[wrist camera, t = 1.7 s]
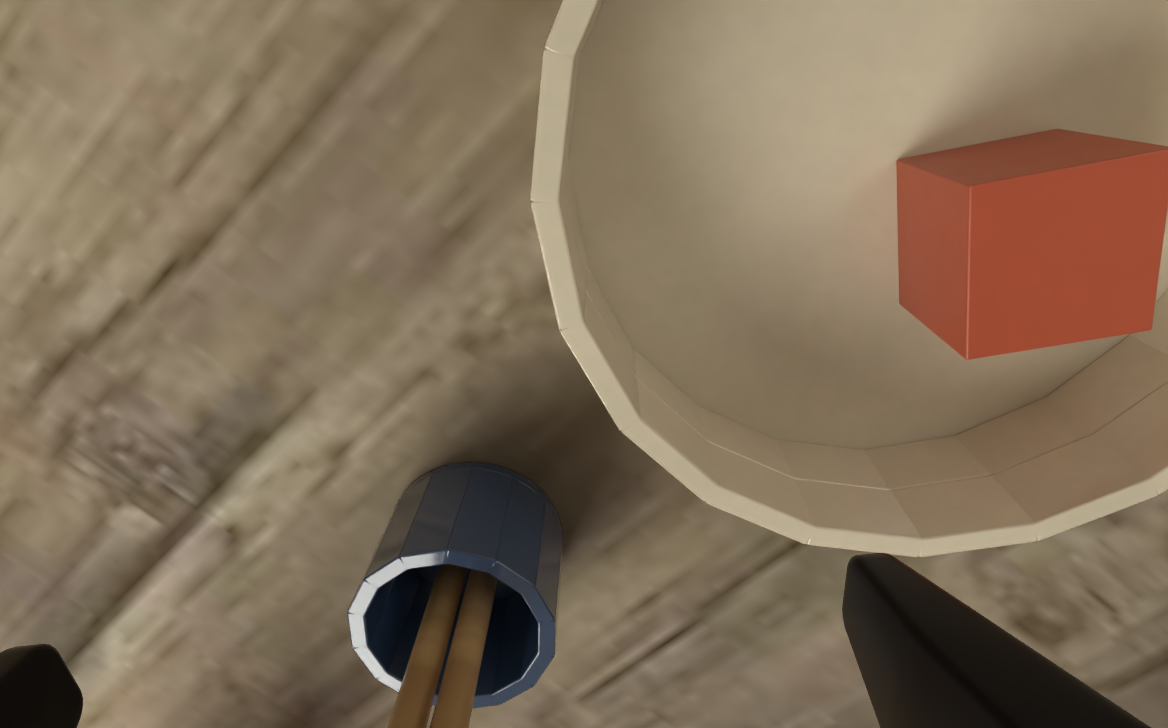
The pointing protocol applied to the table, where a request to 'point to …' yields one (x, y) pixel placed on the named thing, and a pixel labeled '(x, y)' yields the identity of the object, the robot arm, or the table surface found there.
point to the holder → (475, 541)
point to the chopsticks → (432, 647)
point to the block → (1032, 240)
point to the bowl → (836, 259)
